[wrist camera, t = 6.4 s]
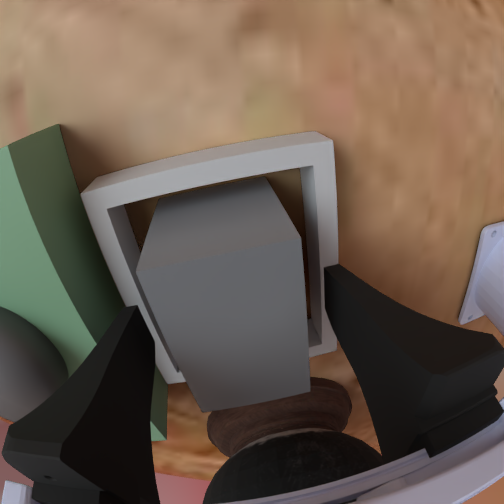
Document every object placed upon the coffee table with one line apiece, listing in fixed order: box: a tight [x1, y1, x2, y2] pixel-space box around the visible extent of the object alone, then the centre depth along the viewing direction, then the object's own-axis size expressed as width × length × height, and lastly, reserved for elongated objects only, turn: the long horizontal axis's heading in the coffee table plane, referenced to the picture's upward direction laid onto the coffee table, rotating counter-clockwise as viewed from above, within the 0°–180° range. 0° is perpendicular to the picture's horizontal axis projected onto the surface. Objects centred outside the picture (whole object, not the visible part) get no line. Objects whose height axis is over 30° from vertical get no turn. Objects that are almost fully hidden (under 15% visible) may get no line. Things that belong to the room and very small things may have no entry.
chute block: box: [136, 176, 310, 412], centre depth 12 cm, size 4×7×6 cm, turn 9°
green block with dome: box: [0, 124, 338, 441], centre depth 12 cm, size 20×16×6 cm
